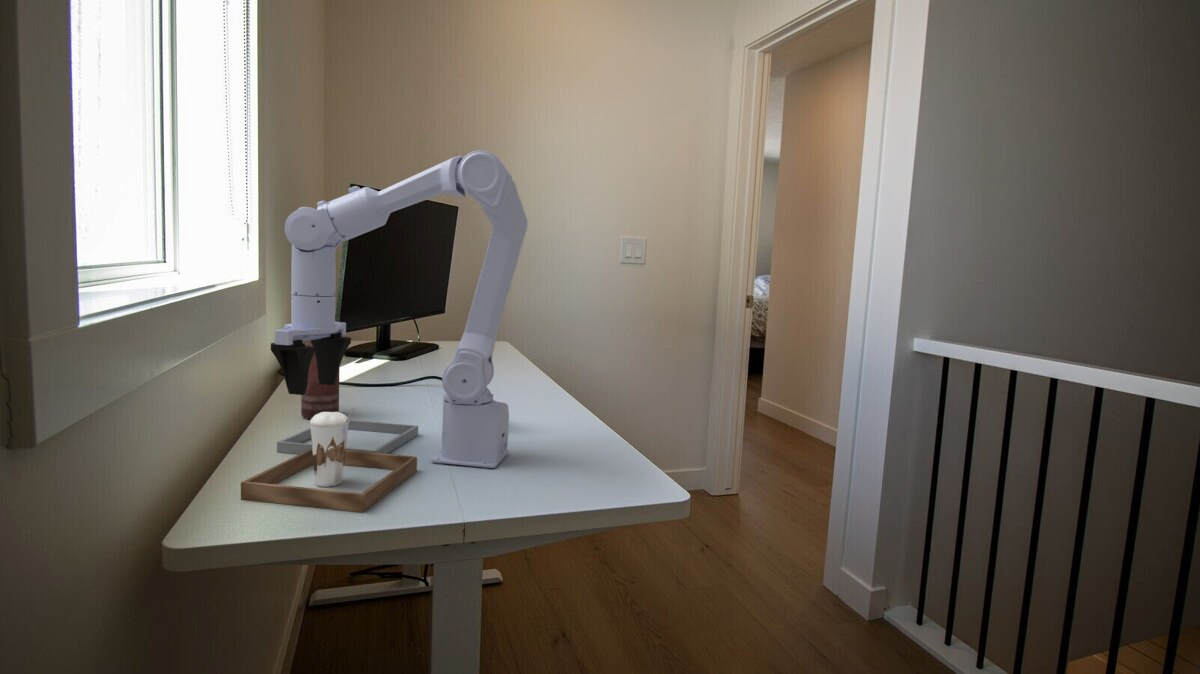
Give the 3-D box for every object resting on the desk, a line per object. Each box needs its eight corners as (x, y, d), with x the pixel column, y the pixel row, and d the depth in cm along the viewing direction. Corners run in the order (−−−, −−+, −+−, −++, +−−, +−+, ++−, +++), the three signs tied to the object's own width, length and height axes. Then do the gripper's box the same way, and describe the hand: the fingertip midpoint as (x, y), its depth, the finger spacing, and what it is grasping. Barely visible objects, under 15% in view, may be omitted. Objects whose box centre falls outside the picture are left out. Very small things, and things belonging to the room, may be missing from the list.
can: (313, 422, 106) (314, 342, 104) (294, 415, 109) (295, 338, 108) (346, 417, 110) (347, 340, 109) (327, 410, 114) (328, 336, 113)
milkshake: (341, 491, 76) (342, 412, 75) (301, 486, 76) (302, 408, 75) (360, 479, 80) (362, 404, 79) (322, 475, 81) (323, 400, 80)
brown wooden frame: (416, 470, 85) (417, 456, 85) (363, 512, 70) (363, 495, 70) (314, 460, 86) (314, 446, 86) (240, 499, 72) (240, 482, 71)
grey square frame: (418, 434, 102) (418, 425, 102) (375, 461, 88) (375, 451, 87) (332, 426, 104) (333, 418, 104) (276, 452, 89) (276, 442, 89)
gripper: (316, 292, 95) (315, 378, 97) (253, 295, 81) (253, 396, 82) (359, 295, 94) (357, 381, 96) (303, 298, 80) (302, 400, 82)
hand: (312, 389), depth 89 cm, fingers open, 7 cm apart
